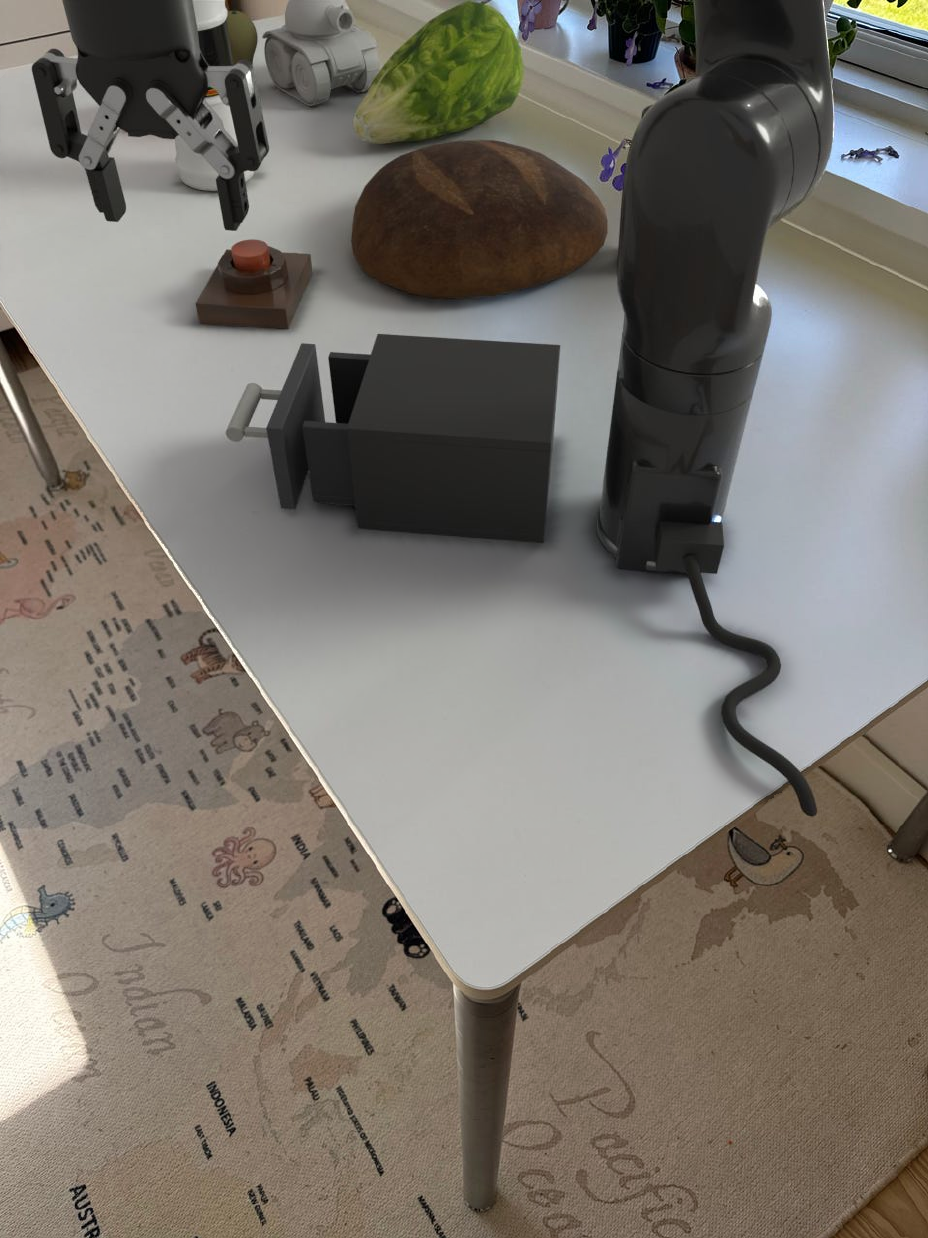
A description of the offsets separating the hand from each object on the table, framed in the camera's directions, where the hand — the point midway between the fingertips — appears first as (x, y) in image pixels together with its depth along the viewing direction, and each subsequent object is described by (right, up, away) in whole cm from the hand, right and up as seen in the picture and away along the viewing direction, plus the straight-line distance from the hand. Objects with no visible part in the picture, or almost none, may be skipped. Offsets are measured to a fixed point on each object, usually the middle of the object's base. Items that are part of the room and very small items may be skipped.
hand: (175, 221), depth 71 cm
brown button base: (-1, +5, +32) cm, 32 cm away
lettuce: (+16, +35, +60) cm, 71 cm away
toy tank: (+1, +46, +70) cm, 84 cm away
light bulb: (-10, +45, +70) cm, 84 cm away
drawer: (+11, -15, +12) cm, 22 cm away
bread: (+22, +13, +40) cm, 47 cm away
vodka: (-9, +25, +51) cm, 58 cm away
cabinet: (+20, -17, +12) cm, 29 cm away
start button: (-1, +7, +29) cm, 30 cm away
